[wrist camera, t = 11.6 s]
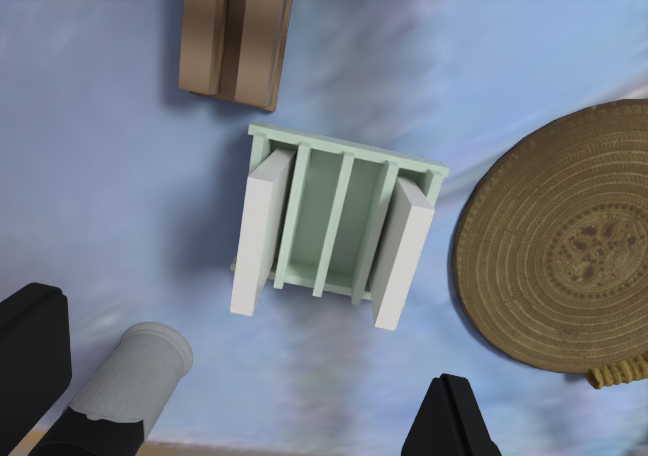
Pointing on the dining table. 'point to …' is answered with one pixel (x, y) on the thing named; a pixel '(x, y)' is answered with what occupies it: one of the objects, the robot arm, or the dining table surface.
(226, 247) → the dining table surface
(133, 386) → the grey black mug
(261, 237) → the tall white panel
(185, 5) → the stand
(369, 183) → the rack
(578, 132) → the decorative disc
